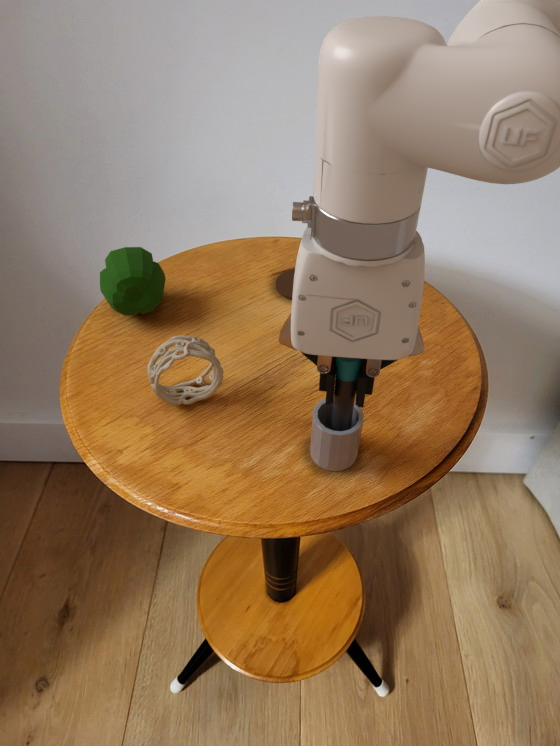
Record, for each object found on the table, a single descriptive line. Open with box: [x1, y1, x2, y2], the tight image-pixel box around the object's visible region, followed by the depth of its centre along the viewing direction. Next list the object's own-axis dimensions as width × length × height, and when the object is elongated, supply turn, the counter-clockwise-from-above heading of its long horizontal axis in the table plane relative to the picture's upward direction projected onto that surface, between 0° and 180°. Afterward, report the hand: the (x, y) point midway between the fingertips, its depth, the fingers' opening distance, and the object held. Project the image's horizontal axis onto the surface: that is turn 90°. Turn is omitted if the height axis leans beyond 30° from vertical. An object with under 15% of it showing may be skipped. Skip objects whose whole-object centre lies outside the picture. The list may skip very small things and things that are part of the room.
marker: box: [331, 357, 361, 431], centre depth 54 cm, size 2×2×12 cm
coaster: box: [274, 268, 295, 301], centre depth 81 cm, size 7×7×1 cm
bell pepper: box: [99, 246, 167, 317], centre depth 75 cm, size 8×8×10 cm
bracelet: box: [146, 335, 224, 406], centre depth 63 cm, size 4×8×8 cm, turn 112°
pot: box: [309, 397, 365, 472], centre depth 58 cm, size 5×5×6 cm
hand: (344, 394), depth 54 cm, fingers closed on marker, 2 cm apart
